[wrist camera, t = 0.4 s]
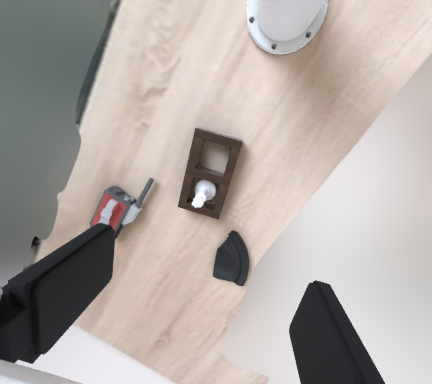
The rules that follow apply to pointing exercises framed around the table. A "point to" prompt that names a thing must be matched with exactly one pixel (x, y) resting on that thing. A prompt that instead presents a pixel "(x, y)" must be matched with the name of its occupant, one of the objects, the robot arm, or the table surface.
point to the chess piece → (204, 192)
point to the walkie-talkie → (118, 208)
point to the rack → (208, 172)
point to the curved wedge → (232, 260)
